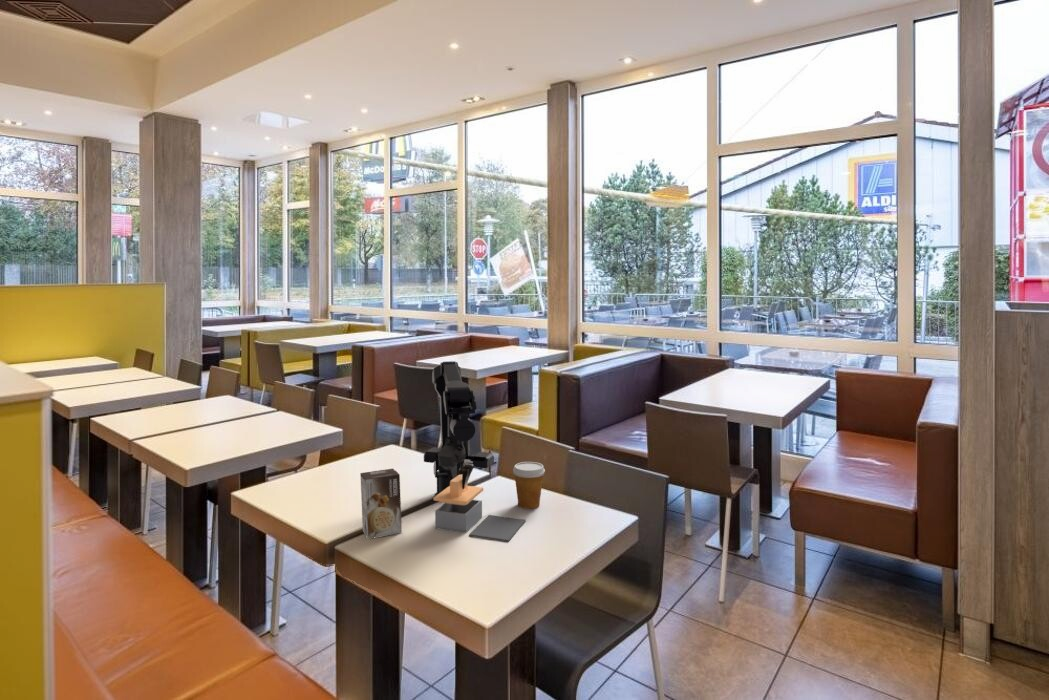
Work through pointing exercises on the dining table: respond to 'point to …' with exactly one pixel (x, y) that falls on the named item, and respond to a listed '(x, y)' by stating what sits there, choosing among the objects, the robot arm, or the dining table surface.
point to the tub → (458, 516)
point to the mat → (498, 528)
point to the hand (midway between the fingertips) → (459, 488)
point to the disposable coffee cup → (528, 483)
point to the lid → (458, 493)
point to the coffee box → (381, 503)
